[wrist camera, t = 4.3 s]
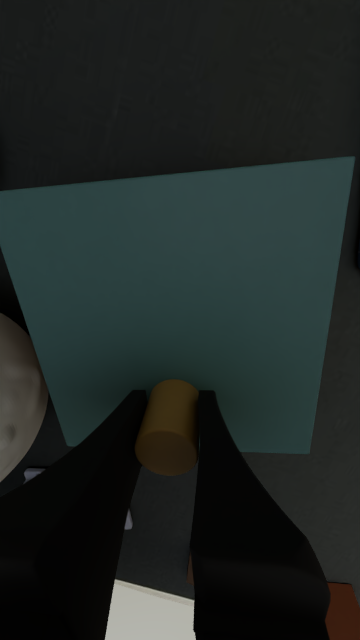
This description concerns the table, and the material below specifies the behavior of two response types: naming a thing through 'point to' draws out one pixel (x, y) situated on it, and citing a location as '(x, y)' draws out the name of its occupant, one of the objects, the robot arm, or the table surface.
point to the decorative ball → (18, 394)
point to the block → (343, 613)
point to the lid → (183, 299)
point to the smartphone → (359, 256)
